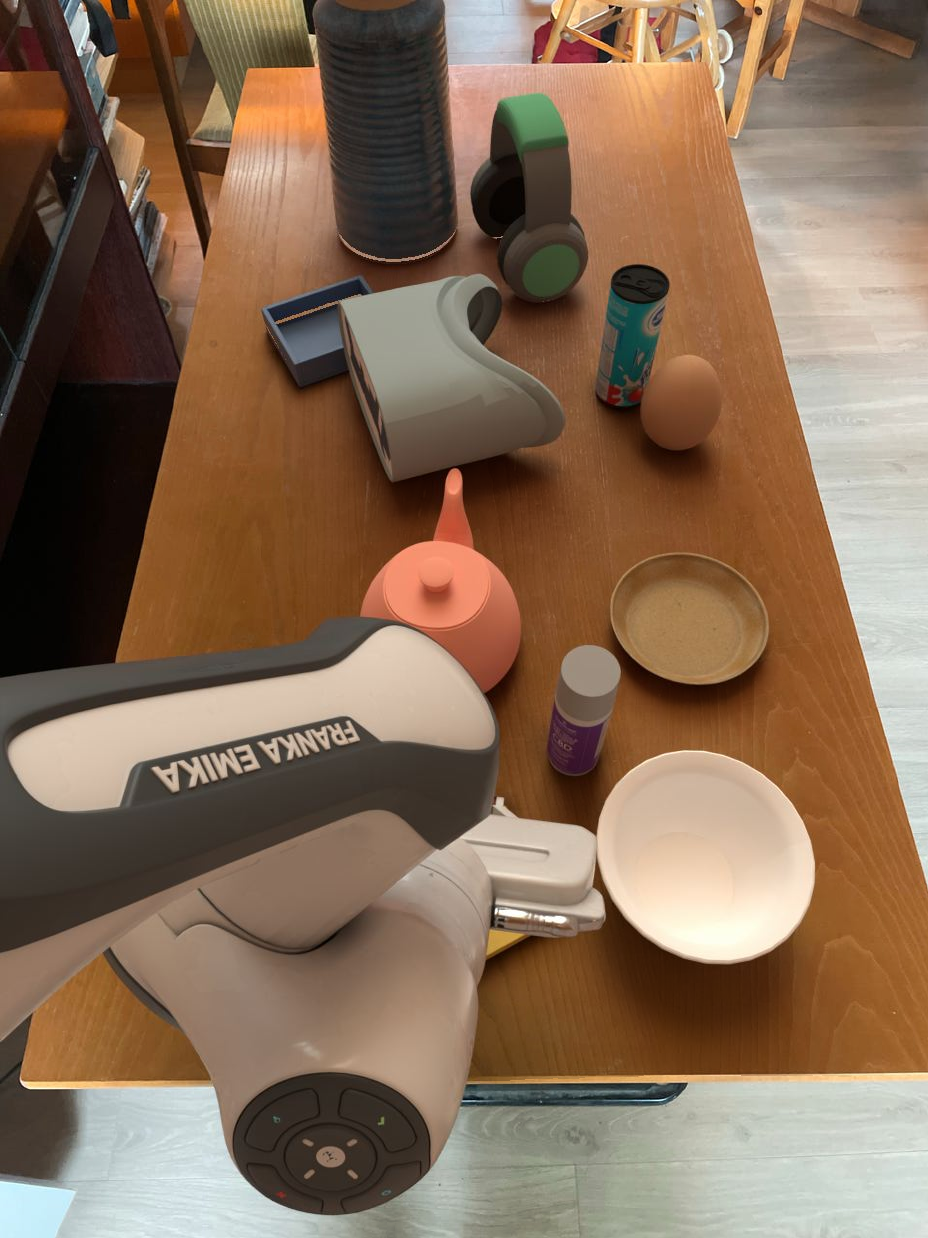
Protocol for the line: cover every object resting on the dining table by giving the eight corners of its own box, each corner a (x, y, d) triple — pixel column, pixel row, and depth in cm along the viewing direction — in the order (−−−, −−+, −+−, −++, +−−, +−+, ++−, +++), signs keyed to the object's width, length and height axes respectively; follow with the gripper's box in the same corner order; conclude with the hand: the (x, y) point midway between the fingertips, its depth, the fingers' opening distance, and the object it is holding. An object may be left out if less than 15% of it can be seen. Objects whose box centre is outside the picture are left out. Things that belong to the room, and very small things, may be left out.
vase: (331, 202, 122) (290, -68, 96) (446, 188, 124) (438, -82, 97) (344, 275, 114) (303, 1, 87) (468, 259, 115) (465, -15, 88)
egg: (718, 426, 99) (743, 347, 89) (696, 477, 95) (721, 400, 85) (647, 405, 101) (665, 325, 91) (623, 454, 97) (639, 376, 87)
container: (540, 768, 77) (552, 689, 65) (553, 721, 80) (567, 636, 67) (592, 782, 76) (615, 705, 64) (604, 735, 79) (628, 652, 66)
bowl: (572, 796, 76) (582, 756, 69) (754, 782, 76) (783, 742, 69) (600, 993, 67) (615, 972, 60) (805, 977, 68) (844, 954, 60)
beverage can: (628, 418, 100) (650, 308, 87) (584, 396, 101) (599, 286, 89) (655, 389, 102) (680, 278, 89) (612, 368, 104) (630, 256, 91)
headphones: (465, 228, 119) (463, 71, 102) (542, 214, 120) (553, 57, 103) (505, 317, 109) (511, 160, 92) (589, 301, 110) (609, 143, 94)
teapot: (388, 538, 91) (377, 456, 81) (533, 555, 90) (540, 474, 79) (340, 729, 79) (319, 663, 69) (505, 753, 78) (509, 688, 68)
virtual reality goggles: (346, 371, 104) (331, 278, 93) (497, 335, 107) (499, 241, 96) (397, 507, 93) (386, 420, 82) (563, 463, 96) (574, 373, 85)
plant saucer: (581, 593, 87) (584, 578, 85) (712, 549, 90) (718, 533, 87) (650, 719, 80) (655, 706, 77) (791, 667, 82) (800, 653, 80)
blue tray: (299, 387, 103) (294, 364, 100) (266, 331, 108) (260, 307, 105) (401, 351, 106) (399, 327, 103) (364, 298, 111) (361, 274, 108)
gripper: (615, 882, 44) (602, 775, 58) (221, 830, 46) (298, 738, 59) (600, 992, 46) (590, 862, 59) (218, 938, 47) (294, 824, 61)
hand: (441, 799), depth 59 cm, fingers closed on lemon, 5 cm apart
